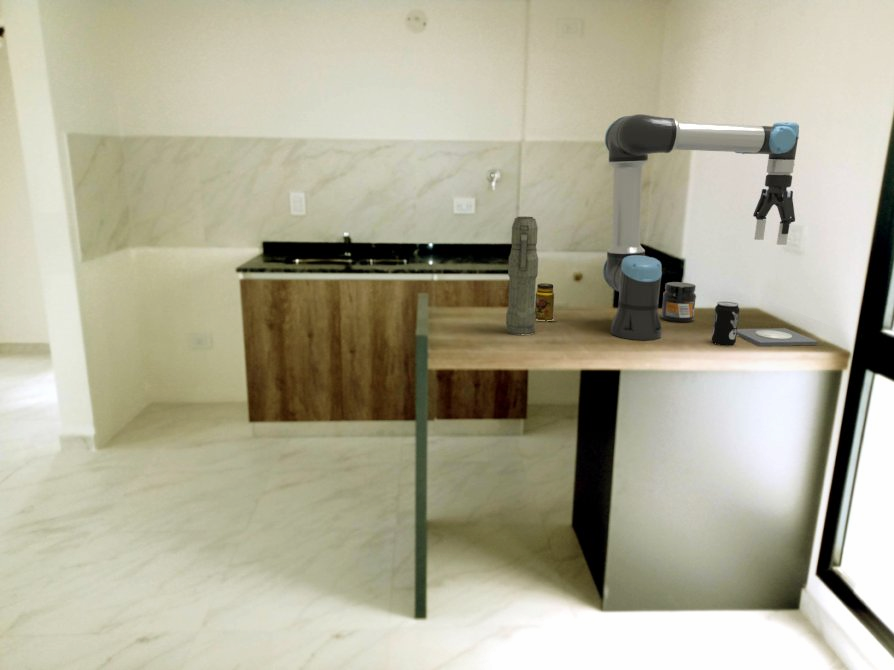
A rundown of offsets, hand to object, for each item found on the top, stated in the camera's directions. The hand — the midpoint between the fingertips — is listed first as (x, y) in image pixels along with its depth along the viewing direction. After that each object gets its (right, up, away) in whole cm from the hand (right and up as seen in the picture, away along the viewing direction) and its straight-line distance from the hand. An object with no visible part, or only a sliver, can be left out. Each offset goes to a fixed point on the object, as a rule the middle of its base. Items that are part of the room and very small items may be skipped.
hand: (769, 242), depth 218 cm
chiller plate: (-5, -31, -13) cm, 34 cm away
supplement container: (-26, -25, +11) cm, 38 cm away
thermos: (-81, -29, -9) cm, 87 cm away
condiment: (-71, -25, +9) cm, 76 cm away
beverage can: (-23, -33, -19) cm, 44 cm away
